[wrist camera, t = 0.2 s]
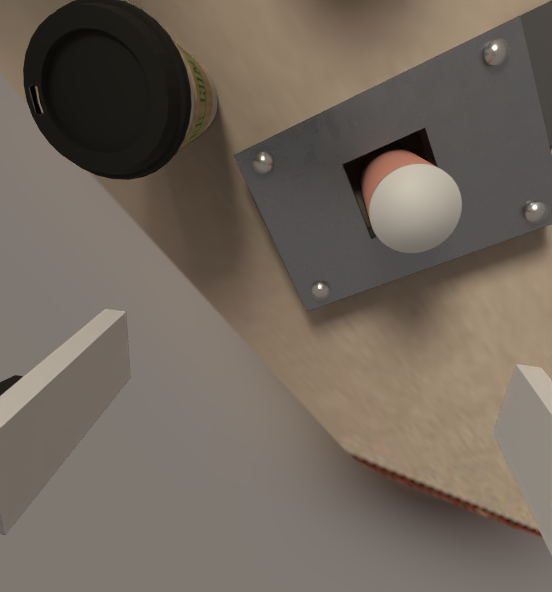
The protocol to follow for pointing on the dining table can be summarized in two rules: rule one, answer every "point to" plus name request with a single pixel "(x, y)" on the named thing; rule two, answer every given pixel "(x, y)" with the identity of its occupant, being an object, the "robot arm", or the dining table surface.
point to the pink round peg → (409, 200)
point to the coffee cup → (115, 89)
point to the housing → (439, 151)
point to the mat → (541, 57)
